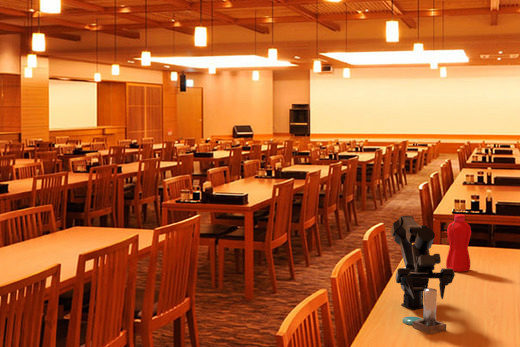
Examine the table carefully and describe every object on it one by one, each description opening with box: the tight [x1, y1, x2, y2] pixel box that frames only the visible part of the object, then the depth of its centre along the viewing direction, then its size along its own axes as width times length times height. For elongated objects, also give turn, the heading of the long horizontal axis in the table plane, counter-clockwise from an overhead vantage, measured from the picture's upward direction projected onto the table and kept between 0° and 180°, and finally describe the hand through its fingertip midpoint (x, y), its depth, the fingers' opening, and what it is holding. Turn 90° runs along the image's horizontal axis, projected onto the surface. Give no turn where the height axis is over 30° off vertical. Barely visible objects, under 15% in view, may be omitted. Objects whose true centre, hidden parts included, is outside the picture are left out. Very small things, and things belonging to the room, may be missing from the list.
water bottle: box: [445, 213, 472, 273], centre depth 288 cm, size 9×11×25 cm
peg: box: [422, 287, 438, 327], centre depth 210 cm, size 4×4×13 cm
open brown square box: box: [412, 318, 447, 335], centre depth 211 cm, size 8×8×2 cm
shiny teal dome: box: [402, 316, 423, 326], centre depth 218 cm, size 7×7×1 cm
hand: (428, 298), depth 212 cm, fingers open, 9 cm apart
